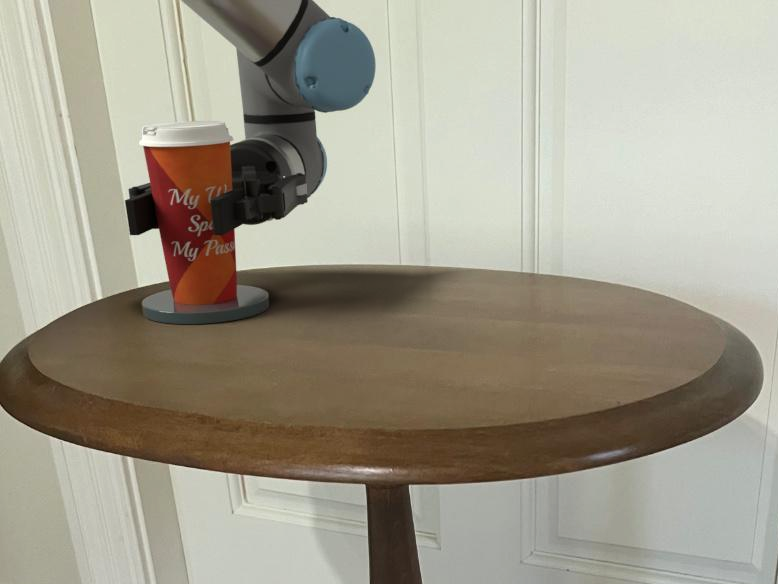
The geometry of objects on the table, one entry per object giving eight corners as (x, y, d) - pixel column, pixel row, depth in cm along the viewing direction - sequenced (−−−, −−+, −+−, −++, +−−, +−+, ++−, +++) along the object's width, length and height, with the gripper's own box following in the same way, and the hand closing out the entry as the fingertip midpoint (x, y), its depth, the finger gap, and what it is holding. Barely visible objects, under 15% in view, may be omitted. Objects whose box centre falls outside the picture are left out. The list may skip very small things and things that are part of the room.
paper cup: (189, 312, 90) (166, 130, 84) (144, 298, 95) (119, 125, 89) (267, 296, 95) (251, 122, 88) (220, 283, 100) (201, 118, 93)
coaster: (119, 321, 92) (117, 309, 92) (179, 293, 102) (178, 282, 101) (237, 327, 90) (236, 315, 89) (288, 297, 99) (287, 286, 98)
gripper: (355, 219, 107) (294, 265, 87) (168, 219, 111) (69, 265, 91) (350, 137, 104) (286, 166, 84) (158, 140, 107) (52, 169, 87)
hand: (174, 217), depth 87 cm, fingers closed on paper cup, 6 cm apart
